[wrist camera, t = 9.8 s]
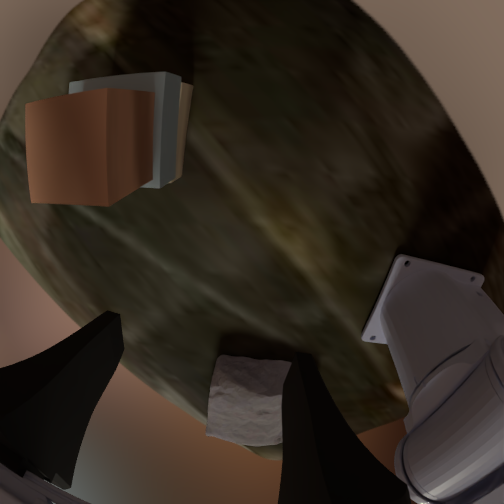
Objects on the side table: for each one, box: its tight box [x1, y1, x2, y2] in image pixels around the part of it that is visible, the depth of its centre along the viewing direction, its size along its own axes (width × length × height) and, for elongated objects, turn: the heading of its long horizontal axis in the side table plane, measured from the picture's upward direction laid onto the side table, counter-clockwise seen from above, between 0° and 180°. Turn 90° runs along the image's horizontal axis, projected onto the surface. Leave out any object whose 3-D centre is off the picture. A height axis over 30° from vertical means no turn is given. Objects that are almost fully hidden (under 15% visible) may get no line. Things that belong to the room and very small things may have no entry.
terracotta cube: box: [25, 88, 155, 206], centre depth 12 cm, size 4×4×4 cm
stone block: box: [206, 355, 291, 446], centre depth 27 cm, size 12×5×10 cm
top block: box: [69, 72, 181, 188], centre depth 15 cm, size 6×6×2 cm
